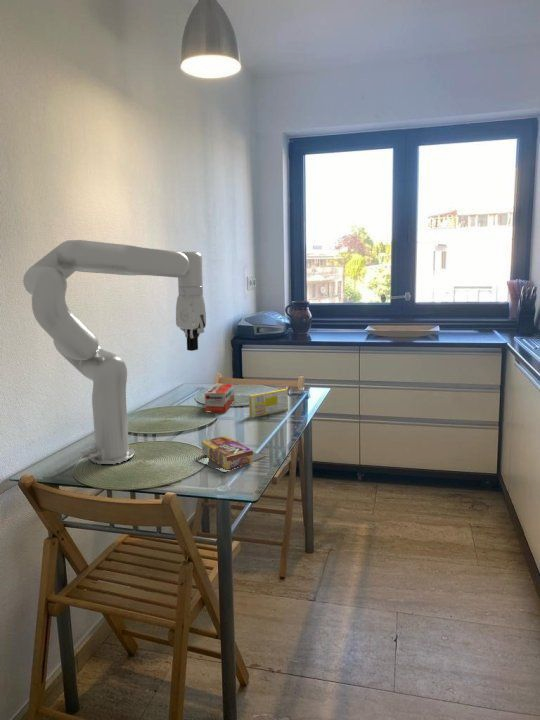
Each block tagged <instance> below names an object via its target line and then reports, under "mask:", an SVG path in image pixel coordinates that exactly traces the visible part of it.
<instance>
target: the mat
mask: <svg viewBox="0 0 540 720" xmlns="http://www.w3.org/2000/svg"><path fill="white" fill-rule="evenodd" d="M264 458H266V455H263V454H259V452H255V451H253V463H255V462H257V461H259V460H262V459H264ZM209 466H210V467H209ZM207 467H209V468H211V467H213V468H219V469H220V468H223V467H222V466H220V465H219V464H217V463H216V462H214V461H213V460H211V459H210V458H209V462H208V466H207ZM213 468H212V469H213ZM236 468H237V467H236ZM223 469H225V468H223ZM233 469H234V468H233ZM237 469H238V468H237ZM225 470H226V469H225ZM229 470H232V469H229ZM234 470H235V469H234ZM232 471H233V470H232Z"/></svg>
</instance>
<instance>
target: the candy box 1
mask: <svg viewBox="0 0 540 720" xmlns="http://www.w3.org/2000/svg"><path fill="white" fill-rule="evenodd" d="M253 452H254V451H253V449H250V448H249V447H248V446H246V445H244V444H242V443H240V442H238V441H236V440H235V439H233V438H231V437H230V436H228V435H225V436H219V437H215V438H214V437H213V438H211V439H205V440H203V441H201V454H202V453H204V454H206V455H207V456H208V458H210V459H211V460H213V461H214V462H216V463H217V464H219V465H220V466H222V467H223V468H225V469H226V470H229V469H233V468H236V467H239V468H241V467H240V466H242V467H244V466H247V465H251V464H254V462H253ZM204 454H203V455H204ZM207 456H206V457H207Z"/></svg>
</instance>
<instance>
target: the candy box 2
mask: <svg viewBox="0 0 540 720" xmlns="http://www.w3.org/2000/svg"><path fill="white" fill-rule="evenodd" d="M288 391H289V390H288V389H287V388H283V389H278V390H271V391H265V392H260V393H256V394H250V395H248V405H249V408H248V409H249V412H248V413H249V417H250V418H257V417H261V416H266V415H271V414H276V413H281V412H282V413H283V412H286V411H289V403H288V402H289V400H288V398H289V394H288V393H289V392H288Z"/></svg>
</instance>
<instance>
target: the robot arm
mask: <svg viewBox="0 0 540 720" xmlns="http://www.w3.org/2000/svg"><path fill="white" fill-rule="evenodd" d="M202 257H203V255H202V254H201V253H200V252H198V251H175V250H169V249H168V250H167V249H158V248H148V247H141V246H135V245H131V244H130V245H129V244H120V243H111V242H105V241H104V242H103V241H93V240H86V239H85V240H84V239H71V240H70V239H68V240H66V241H63V242H61V243H59V244H58V245H57V246H56V247H54V248H53V249H52V250H51V251H49V252H48V253H47V254H46V255H44V256H43V257H42V258H40V259H39V260H38V261H36V262H35V263H34V264H32V265H31V266H30V267H29V268H28V269H27V270H26V271H25V273H24V275H23V280H22V283H23V286H24V289H25V290H26V292H27V293H29V295H31V308H32V313H33V317H34V318H35V320H36V322H37V323H38V324H39V326H40V327H41V328H42V330H44V331H45V332H46V333H47V334H48V335H49V336H50V338H51V339H52V341H53V346H54V348H55V349H56V351H57V352H58V353H59V354H60V355H61V356H62V357H63V358H64V359H65V360H66V361H67V362H69V363H70V365H72V366H73V367H74V368H75V369H76V370H77V371H79V373H80V374H82V375H83V376H84V377H85V378H86V379H89V380H91V381H92V383H93V385H92V392H91V405H92V407H91V408H92V418H93V419H92V420H93V429H94V432H93V433H94V443H93V444H91V448H89V449H88V450H83V451H80V452H79V458H80V459H85V458H89V460H91V462H93V463H94V464H96V463H97V465H101V464H113V465H115V464H114V463H118V462H122V461H125V460H128V459H130V458H131V457H132V456H133V455H134V454H135V455H136V452H135V450H134V449H133V448H132V447H131V446H130V443H129V442H130V441H129V428H128V427H129V426H128V425H129V424H128V409H127V408H128V407H127V382H128V368H127V366H126V362H125V361H124V360H123V358H121V357H120V356H119V355H117V354H115V353H112V352H110V351H107V350H104V348H102V347H101V346H100V345H99V344H100V343H99V340H98V338H97V336H96V334H95V333H94V332H93V331H92V330H91V329H90V328H88V326H86V325H85V324H84V323H83V322H82V321H81V320H80V319H79V318H78V317H77V316H76V314H74V313H73V311H72V310H71V309H70V308H69V307H68V305H67V302H66V293H67V288H68V284H67V283H68V282H67V279H68V278H70V277H71V276H72V275H73V274H74V273H75V272H81V273H89V274H91V273H94V274H105V275H106V274H107V275H117V276H118V275H120V276H150V277H151V276H152V277H168V278H177V287H178V296H177V297H176V305H175V326H176V327H177V328H179V329H180V330H181V331H182V332H184V337H185V338H186V351H191V352H192V351H193V352H194V351H197V350H199V338H200V334H203V333H205V328H206V327H207V311H206V305H205V304H206V303H205V299H204V298H205V297H204V289H203V287H204V286H203V281H204V280H203V258H202ZM130 460H131V459H130Z"/></svg>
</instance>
